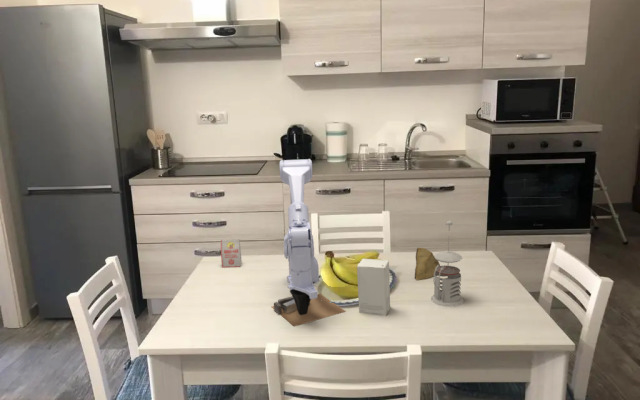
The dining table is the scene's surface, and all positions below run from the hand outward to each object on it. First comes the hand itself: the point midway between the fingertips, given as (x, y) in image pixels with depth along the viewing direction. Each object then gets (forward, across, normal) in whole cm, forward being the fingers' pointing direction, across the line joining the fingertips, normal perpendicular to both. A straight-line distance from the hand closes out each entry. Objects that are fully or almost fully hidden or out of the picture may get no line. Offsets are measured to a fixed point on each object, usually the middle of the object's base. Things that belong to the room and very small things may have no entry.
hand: (302, 313), depth 147 cm
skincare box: (+3, +6, +20) cm, 21 cm away
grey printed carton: (+3, -54, -1) cm, 55 cm away
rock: (+3, -6, +52) cm, 52 cm away
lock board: (+2, -4, +4) cm, 6 cm away
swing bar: (+1, -7, +2) cm, 7 cm away
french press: (+3, +12, +43) cm, 45 cm away
